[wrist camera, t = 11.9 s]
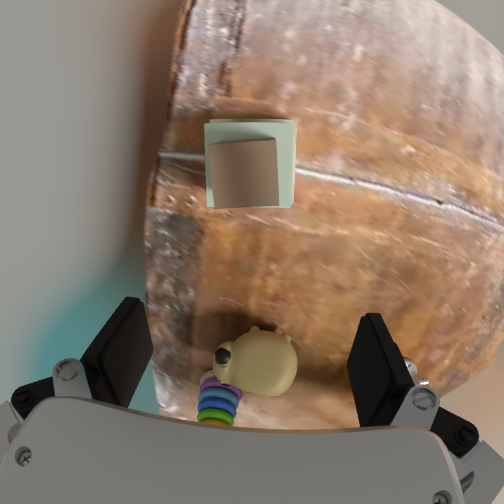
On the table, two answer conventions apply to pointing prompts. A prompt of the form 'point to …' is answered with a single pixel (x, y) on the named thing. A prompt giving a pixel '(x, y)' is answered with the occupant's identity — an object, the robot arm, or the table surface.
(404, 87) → the table surface
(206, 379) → the stacking toy
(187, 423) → the robot arm
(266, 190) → the walnut cube
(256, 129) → the top block
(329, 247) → the table surface
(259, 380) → the toy frog
